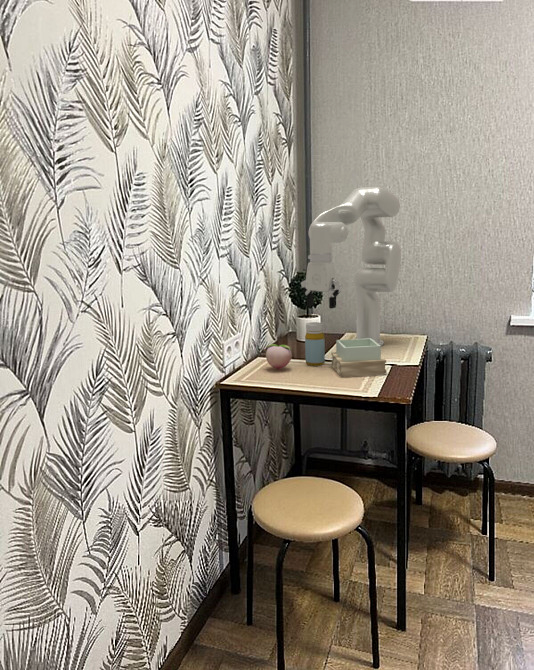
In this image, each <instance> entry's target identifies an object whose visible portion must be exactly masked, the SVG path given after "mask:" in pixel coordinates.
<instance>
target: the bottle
mask: <svg viewBox="0 0 534 670" xmlns="http://www.w3.org/2000/svg"><path fill="white" fill-rule="evenodd" d="M325 339H326V338H325V334H324V323H323V322H317V321H316V322H315V321H313V322H307V323H306V324H305V335H304V346H305V348H304V349H305V350H304V351H305V355H304V357H305V364H306V365H307V366H310V367H320V366H321V367H322V366H323V365H324V364H325V362H326V359H325V358H326V356H325V355H326V354H325V352H326V351H325V349H326V348H325V346H326V345H325V343H326V342H325Z"/></svg>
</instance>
